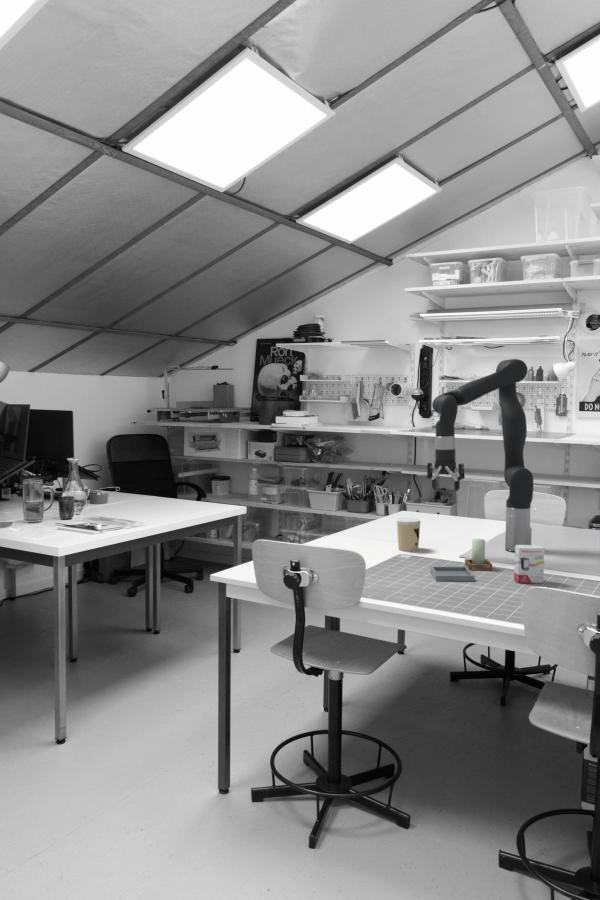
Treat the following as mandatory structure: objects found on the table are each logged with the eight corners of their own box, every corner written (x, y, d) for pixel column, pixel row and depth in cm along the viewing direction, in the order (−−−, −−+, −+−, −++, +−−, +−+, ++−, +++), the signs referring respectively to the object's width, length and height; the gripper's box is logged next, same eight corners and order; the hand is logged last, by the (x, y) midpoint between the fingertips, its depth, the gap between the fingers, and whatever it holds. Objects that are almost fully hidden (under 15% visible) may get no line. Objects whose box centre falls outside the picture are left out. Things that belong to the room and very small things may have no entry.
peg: (483, 565, 256) (483, 538, 255) (485, 569, 252) (486, 541, 251) (470, 565, 256) (471, 538, 255) (473, 568, 252) (473, 541, 251)
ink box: (517, 583, 233) (518, 548, 232) (513, 579, 238) (514, 544, 237) (544, 583, 233) (545, 548, 232) (539, 579, 238) (540, 544, 237)
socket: (487, 564, 258) (487, 559, 258) (492, 570, 250) (492, 564, 249) (464, 564, 258) (464, 559, 258) (469, 570, 250) (469, 564, 250)
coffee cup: (419, 552, 277) (420, 522, 276) (395, 551, 279) (395, 521, 278) (420, 547, 286) (420, 518, 285) (397, 546, 288) (397, 517, 287)
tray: (466, 571, 248) (466, 566, 248) (474, 581, 235) (474, 576, 235) (430, 571, 248) (430, 566, 248) (435, 581, 236) (435, 575, 236)
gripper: (466, 447, 268) (467, 489, 269) (431, 446, 276) (432, 487, 277) (459, 449, 262) (459, 492, 263) (423, 448, 270) (424, 490, 271)
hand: (445, 490), depth 270 cm, fingers open, 8 cm apart
